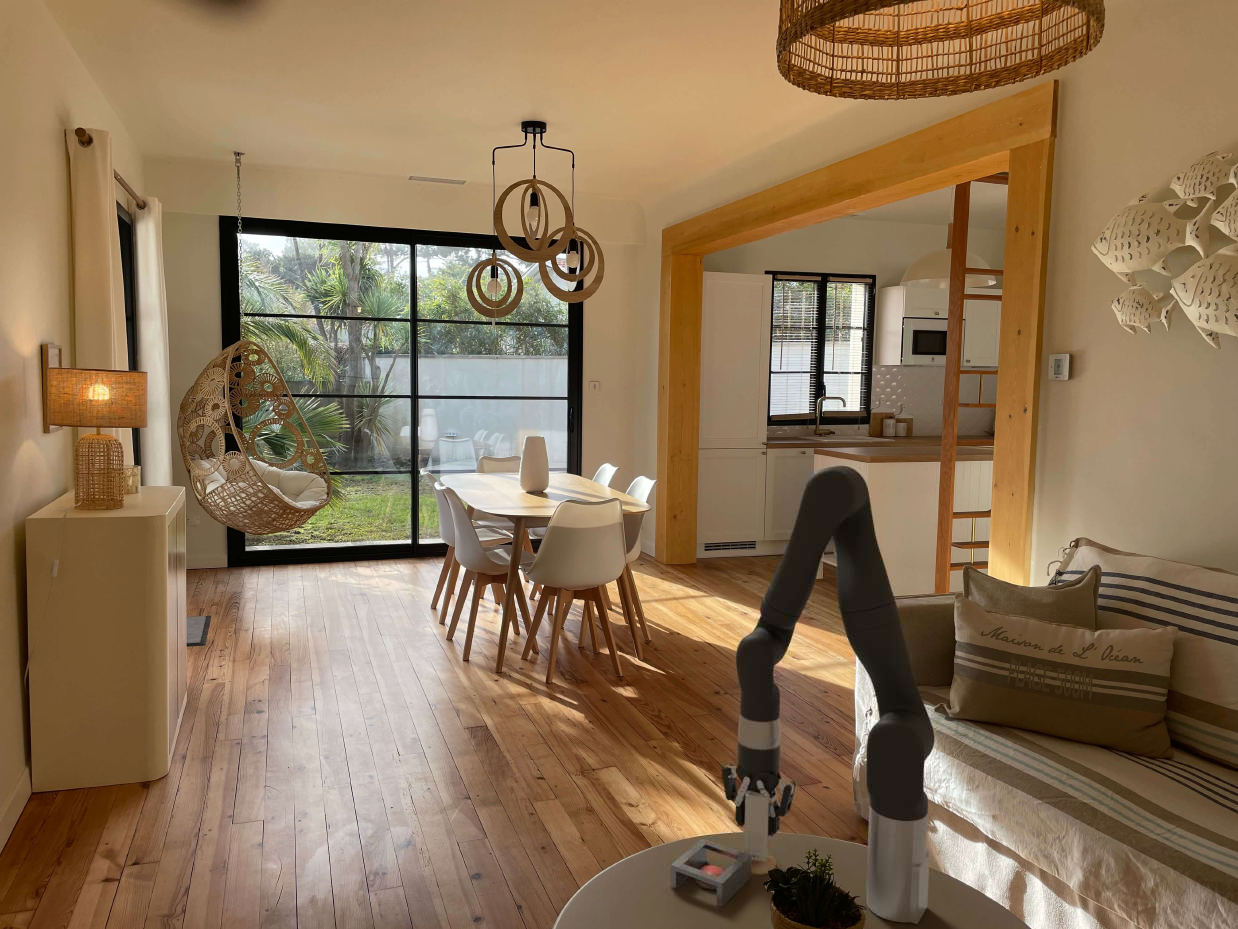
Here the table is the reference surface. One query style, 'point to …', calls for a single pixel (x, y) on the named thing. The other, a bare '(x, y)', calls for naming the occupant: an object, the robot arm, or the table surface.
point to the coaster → (762, 866)
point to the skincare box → (756, 825)
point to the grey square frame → (725, 882)
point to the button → (712, 870)
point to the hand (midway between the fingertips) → (756, 828)
